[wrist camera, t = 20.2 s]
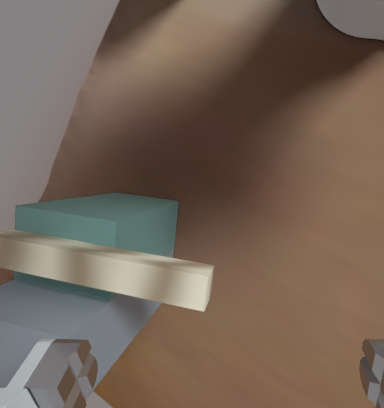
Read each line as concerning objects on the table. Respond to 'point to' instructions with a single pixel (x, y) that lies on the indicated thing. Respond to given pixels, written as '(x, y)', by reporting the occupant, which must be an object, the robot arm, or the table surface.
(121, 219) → the stepped riser
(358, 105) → the table surface
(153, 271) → the ash rod
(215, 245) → the table surface
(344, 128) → the table surface
